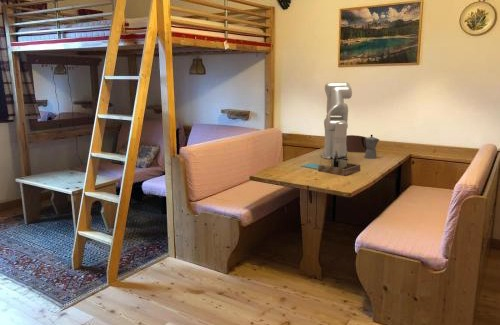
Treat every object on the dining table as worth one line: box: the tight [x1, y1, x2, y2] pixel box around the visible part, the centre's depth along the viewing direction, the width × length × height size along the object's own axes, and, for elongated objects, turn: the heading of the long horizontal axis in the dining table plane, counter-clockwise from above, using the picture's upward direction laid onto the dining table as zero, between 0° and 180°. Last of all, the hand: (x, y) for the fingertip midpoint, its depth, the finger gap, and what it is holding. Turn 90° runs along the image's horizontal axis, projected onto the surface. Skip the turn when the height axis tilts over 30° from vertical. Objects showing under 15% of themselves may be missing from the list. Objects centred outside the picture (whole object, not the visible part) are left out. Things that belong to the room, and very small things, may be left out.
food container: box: [329, 156, 349, 169], centre depth 274 cm, size 12×6×10 cm, turn 65°
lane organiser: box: [317, 162, 361, 177], centre depth 275 cm, size 21×18×4 cm
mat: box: [300, 162, 327, 170], centre depth 289 cm, size 16×12×1 cm
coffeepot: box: [361, 134, 380, 160], centre depth 315 cm, size 15×9×18 cm, turn 44°
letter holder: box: [346, 134, 367, 154], centre depth 342 cm, size 10×20×14 cm, turn 66°
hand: (339, 165), depth 274 cm, fingers open, 9 cm apart
